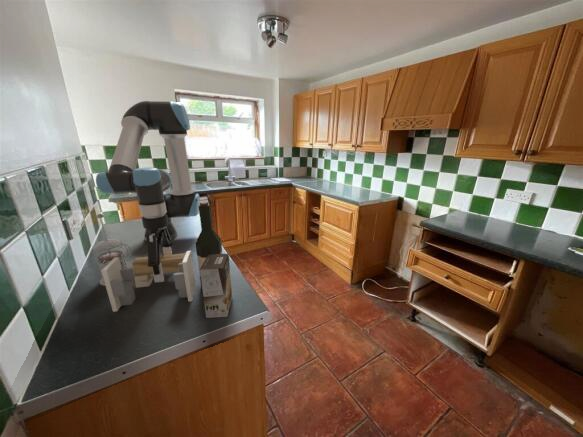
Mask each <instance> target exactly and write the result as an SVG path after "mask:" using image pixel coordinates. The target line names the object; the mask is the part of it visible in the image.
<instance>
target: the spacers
mask: <svg viewBox="0 0 583 437" xmlns="http://www.w3.org/2000/svg"><path fill="white" fill-rule="evenodd" d="M177 273H180V272H179V271H178V272H177ZM134 278H135V282H134V284H135V287H136V288H138V289H139V288H144V287H150V285H151V284H152V281H153V280H154V275H153V274H151V275H141V276H135V275H134Z"/></svg>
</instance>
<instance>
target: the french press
mask: <svg viewBox="0 0 583 437" xmlns="http://www.w3.org/2000/svg"><path fill="white" fill-rule="evenodd" d="M96 218H97V219H100V223H101V226H102V229H103V230H102V231H103V233H104V237H105V240H101V241H99V242H97V243H96V244H94V245H93V247H92V249H93V250H95V251H101V252H102V251H106V252H103V253H100V254H99V255H98V256H97V259H98V260H97V263H98V268H99V271H100V275H101V279H100V281H99V285H101V286H103V287H106V285H105V282H104V278H103V275H102V270H103V269H104V268H105V267H106V266H107V265H108V264H109V263H110V262H111V261H112V260H113V259H114V258H116V257H119V260H120V264H121V268H122V269H124V268H128V267H127V262H128V261H129V259H130V257H131V253H132V252H131V248H130V246H129V245H128V244H126V243H122V241H121V240H120V239H116V238H110V239H109V238H107V236H106V233H105V228H104V223H103V220H102V218H104V215H103V213H98V214H97V215H96ZM122 246H124V247H125V249H126V255H124V254H123V251H121V250H112V249H115V248H122ZM110 250H111V251H110ZM128 250H129V252H128ZM128 253H129V256H128ZM127 257H128V258H127Z"/></svg>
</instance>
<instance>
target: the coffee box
mask: <svg viewBox="0 0 583 437" xmlns="http://www.w3.org/2000/svg"><path fill="white" fill-rule="evenodd" d="M200 273H201V281H202V287H201V288H202V296H203V304H204V311H205V318H206V319H209V318H210V319H212V318H226V317H228V316H229V311H230V308H231V303H232V301H233V290H232V289H233V288H232V280H231V278H232V277H231V267H230V254H229V253H223V254H214V255H208V256H207V258H206V259H205V261H204V263H203V264H202V266H201V268H200ZM201 281H200V282H201Z"/></svg>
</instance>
